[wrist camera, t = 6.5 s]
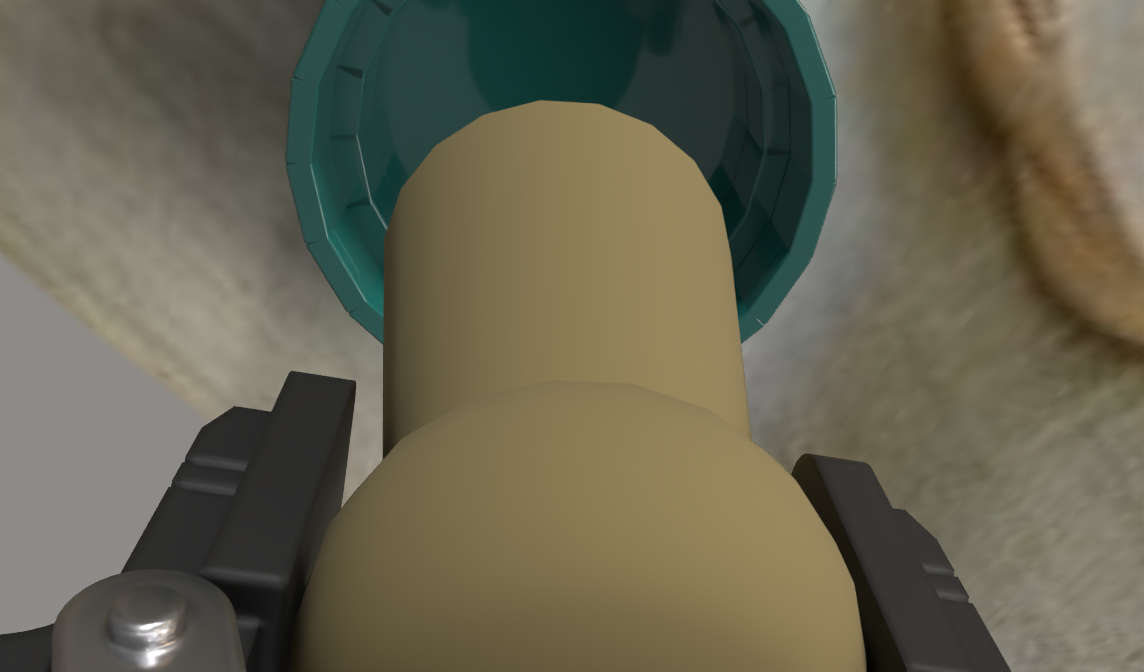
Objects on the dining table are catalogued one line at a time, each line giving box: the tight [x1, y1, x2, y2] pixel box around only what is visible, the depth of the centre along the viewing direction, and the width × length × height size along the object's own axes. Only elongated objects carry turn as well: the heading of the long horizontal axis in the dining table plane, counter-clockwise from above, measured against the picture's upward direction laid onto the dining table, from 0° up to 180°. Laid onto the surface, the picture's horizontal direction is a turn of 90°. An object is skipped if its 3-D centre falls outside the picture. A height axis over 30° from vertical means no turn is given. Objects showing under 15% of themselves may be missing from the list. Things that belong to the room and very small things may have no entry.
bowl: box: [285, 0, 837, 344], centre depth 25 cm, size 12×12×5 cm
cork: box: [290, 100, 867, 672], centre depth 13 cm, size 6×6×11 cm
